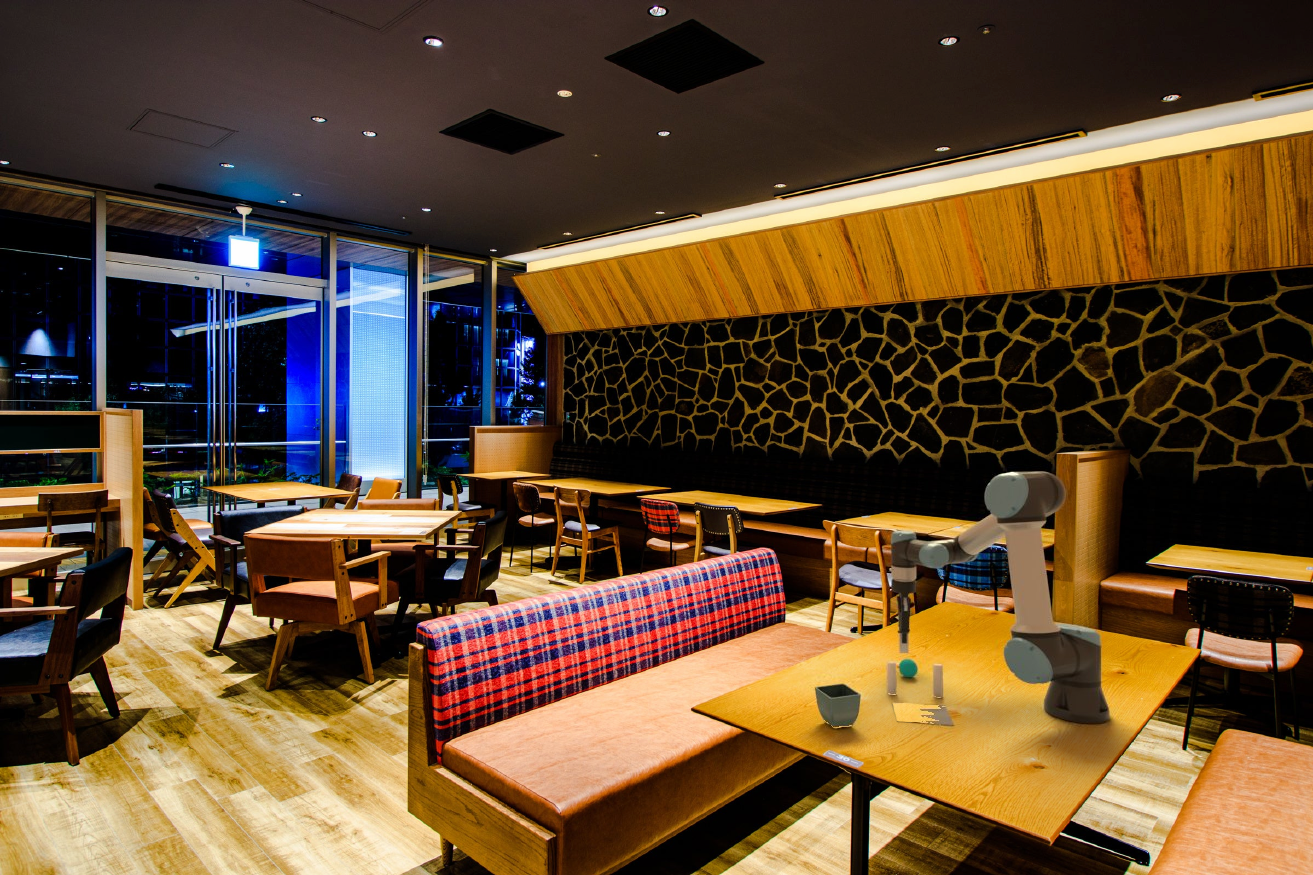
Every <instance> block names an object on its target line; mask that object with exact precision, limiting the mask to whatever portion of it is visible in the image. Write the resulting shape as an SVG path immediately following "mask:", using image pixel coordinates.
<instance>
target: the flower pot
mask: <svg viewBox="0 0 1313 875" xmlns="http://www.w3.org/2000/svg"><path fill="white" fill-rule="evenodd" d="M814 691H815V697H816V704H817V705H816V706H817V709H818V711H819V714H820V716H821V718H822V719H823V721H824V720H825V721H826V722H828V723H829V724H830V725H832V726H833V727H839V726H849V725H852V726H854V725H855V724H854V723H855V722H856V721H857V719H858V716H859V713H860V708H861V706H860V705H861V697H862V694H861V693H860V692H858V691H856V690H855V689H853V688H852V687H850V686H848V685H847V684H846V683H836V684H835V683H834V684H828V685H821V686H815V687H814ZM825 721H824V722H825ZM826 722H825V723H826ZM830 725H829V726H830Z"/></svg>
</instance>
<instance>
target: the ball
mask: <svg viewBox="0 0 1313 875" xmlns="http://www.w3.org/2000/svg"><path fill="white" fill-rule="evenodd" d="M898 671H899V673H900V674H901V675H902V676H903V677H905V678H909V677H910V678H913V677H915V676H916V675H917V674H918V664H917V663H916V662H915V661H914V660H913V659H910V658H904V659H902V660H901V661H900V662H899V663H898Z"/></svg>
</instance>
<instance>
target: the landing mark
mask: <svg viewBox="0 0 1313 875" xmlns="http://www.w3.org/2000/svg"><path fill="white" fill-rule="evenodd" d="M938 705H939V706H938V707H940V708H941V709H920V710H921V711H928V712H932V713H934V715H921V716H922V717H924V716H926V717H928V718H932V719H935V720H939V721H926V722H928V723H930V722H932V723H934V724H941V725H940V726H948V725H951V726H950V727H954V726H955V724H954V721H953V720H952V717H951V715H950V713H949V711H948V709H947V707H946V705H945V704H938ZM942 706H945V707H942ZM930 716H931V717H930ZM922 722H923V721H922ZM934 724H933V725H934ZM953 725H954V726H953Z"/></svg>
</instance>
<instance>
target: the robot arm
mask: <svg viewBox="0 0 1313 875" xmlns="http://www.w3.org/2000/svg"><path fill="white" fill-rule="evenodd" d="M1066 497H1067V492H1066V488H1065V485H1064V483H1063V481H1062V480H1061V479H1060V478H1059V477H1058V476H1056V475H1055V474H1053V473H1050V472H1047V471H1042V470H1041V471H1039V470H1038V471H1010V472H1006V473H1000V474H998V475H995V476H994V477H993V478H992V479H990V482H989V483H988V484H987V486H986V487H985V491H984V504H985V506H986V509H987V510H988V511H990V514H989V515H988V516H986V517H985V518H983V519H982V520H980V521H979V522H978V521H977V523H976V524H974V525H971V526H970V527H968V528H967V529H966V530H964V531H962V532H961V533H960V534H958V535H956V536H955V537H954V538H951V539H949V538H948V539H940V540H931V541H929V540H928V541H927V540H921V539H920V540H919V539H917V534H916V532H915V531H912V530H894V531H893V532H892V533H891V538H890V540H891V542H890V553H891V554H890V556H891V558H890V559H891V560H890V562H891V568H888V569H889V572H891V574H890V575H891V578H892V579H891V582H890V583H891V585H890V588H891V591H892V592H893V593H897V594H898V595H896V602H897V611H898V612H897V614H898V615H897V616H898V617H897V618H898V619H897V620H898V624H897V625H898V630H897V634H898V643H899V644H898V651H899V653H900V654H910V652H909V633H910V632H911V630H910V619H911V618H910V613H911V602H912V600H911V599H912V598H911V597H910V596H909V595H910V594H914V593H916V592H917V581H916V579H917V565H919V566H923V567H926V568H929V569H942V568H944V567H945V566H946V565H952V564H965V563H969V562H973V561H975V560H976V559H977V558H978V556H979V553H981V552H983V551H984V550H986V549H988V548H990V546H992V545H993V546H994V544H996V543H997V542H999V541H1001V540H1003V539H1004V538H1005V543H1006V544H1005V545H1006V552H1007V559H1008V560H1007V561H1008V568H1009V575H1010V576H1009V577H1010V584H1011V591H1012V600H1013V606H1014V616H1015V623H1014V624H1013V625H1012V626H1011V627H1010V634H1011V636H1010V637H1011V639H1010V640H1008V641H1006V644H1005V645H1004V647H1003V648H1004V649H1003V658H1004V661H1005V664H1006V665H1007V668H1008V670H1009V671H1010V672H1011V673H1012V674H1014V676H1015V677H1016V678H1017V679H1018V680H1020V681H1022V682H1023V683H1026V684H1031V685H1037V684H1040V685H1041V684H1042V685H1043V684H1048V683H1049V685H1048V688H1047V690H1046V694H1045V695H1044V699H1043V709H1044V711H1045V712H1046V713H1047V714H1049V715H1051V716H1053V717H1055V718H1058V719H1060V720H1064V721H1068V722H1072V723H1080V724H1086V725H1087V724H1088V725H1089V724H1091V725H1093V724H1103V723H1106V722H1109V720H1110V716H1111V715H1110V708H1109V704H1108V702H1107V699H1106V697H1105V694H1104V690H1103V688H1102V647H1103V646H1102V644H1101V635H1100V633H1099V632H1098V631H1096V630H1095V629H1093V628H1089V627H1087V626H1082V625H1077V624H1070V623H1061V622H1054V618H1053V613H1052V605H1051V598H1050V597H1051V596H1050V590H1049V583H1048V575H1047V567H1046V566H1047V565H1046V560H1045V552H1044V545H1043V544H1044V543H1043V537H1042V527H1043V526H1045V524H1046V522H1047V517H1049V516H1052V514H1054V513H1056V512H1058V511H1059V510H1060V509H1061V508H1062V506H1063V505H1064V503H1065V501H1066Z"/></svg>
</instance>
